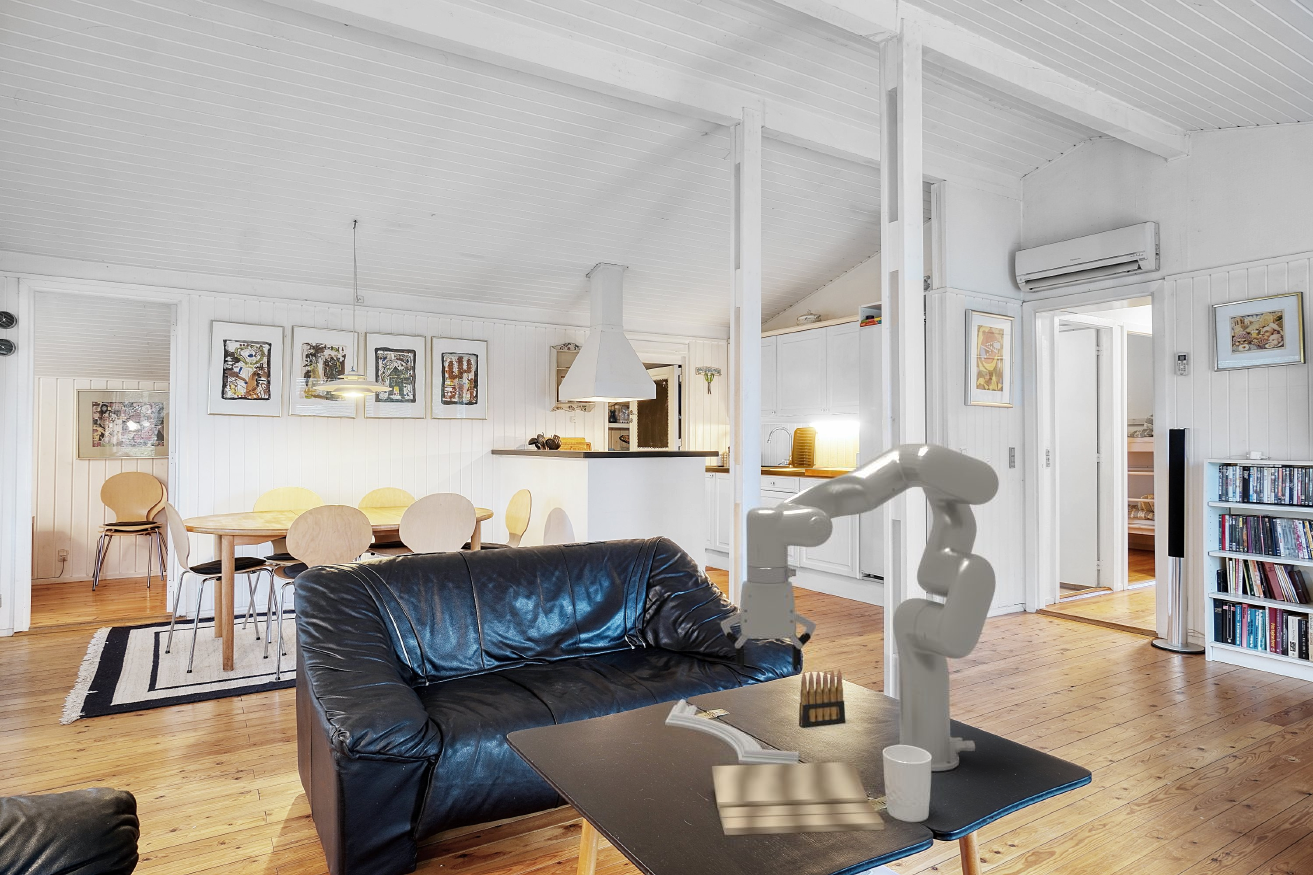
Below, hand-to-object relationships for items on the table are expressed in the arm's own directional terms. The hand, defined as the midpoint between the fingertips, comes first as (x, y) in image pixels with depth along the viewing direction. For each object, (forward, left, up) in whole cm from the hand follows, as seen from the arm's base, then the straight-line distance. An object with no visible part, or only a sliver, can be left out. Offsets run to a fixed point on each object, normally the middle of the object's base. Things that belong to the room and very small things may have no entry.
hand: (768, 668), depth 141 cm
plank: (-2, +5, -20) cm, 20 cm away
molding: (+3, -27, -22) cm, 35 cm away
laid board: (-2, +13, -22) cm, 26 cm away
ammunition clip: (-18, -32, -22) cm, 43 cm away
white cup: (-21, +11, -22) cm, 33 cm away
